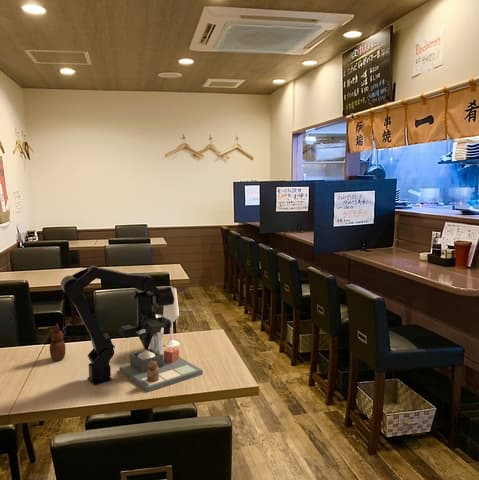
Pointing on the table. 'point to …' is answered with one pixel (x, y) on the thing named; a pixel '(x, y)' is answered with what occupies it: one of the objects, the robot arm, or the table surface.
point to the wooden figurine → (57, 344)
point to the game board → (167, 370)
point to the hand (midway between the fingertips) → (146, 349)
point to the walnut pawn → (152, 372)
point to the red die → (171, 355)
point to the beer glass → (157, 339)
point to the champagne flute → (172, 317)
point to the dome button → (146, 355)
